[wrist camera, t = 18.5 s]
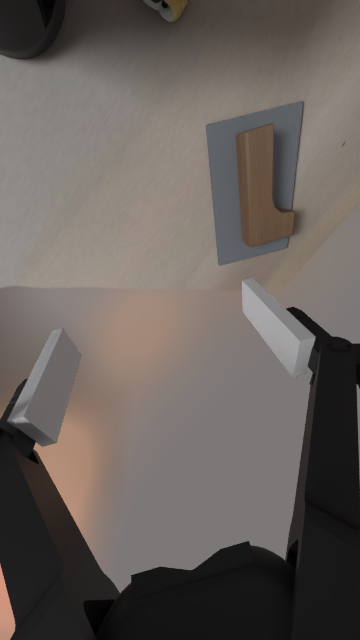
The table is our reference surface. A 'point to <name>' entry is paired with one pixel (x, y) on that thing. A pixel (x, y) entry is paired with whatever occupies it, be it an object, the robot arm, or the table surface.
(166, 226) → the table surface
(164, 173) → the table surface
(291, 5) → the table surface
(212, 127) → the mat
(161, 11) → the pastry
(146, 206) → the table surface
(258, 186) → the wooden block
